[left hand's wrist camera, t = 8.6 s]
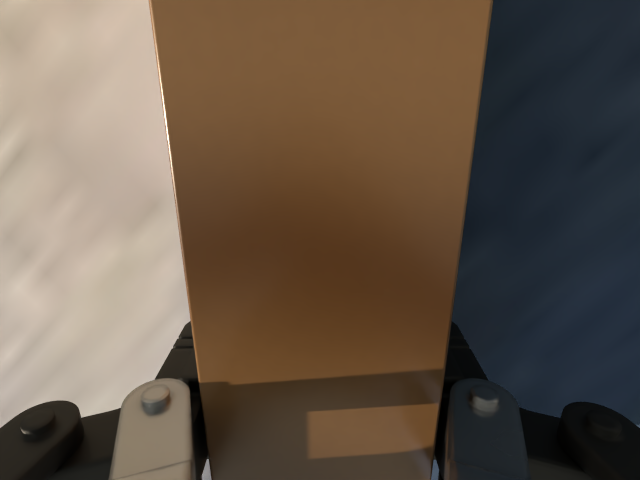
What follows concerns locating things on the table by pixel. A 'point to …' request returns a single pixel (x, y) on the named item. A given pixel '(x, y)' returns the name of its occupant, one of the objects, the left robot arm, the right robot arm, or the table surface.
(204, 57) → the bar
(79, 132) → the table surface
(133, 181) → the table surface
